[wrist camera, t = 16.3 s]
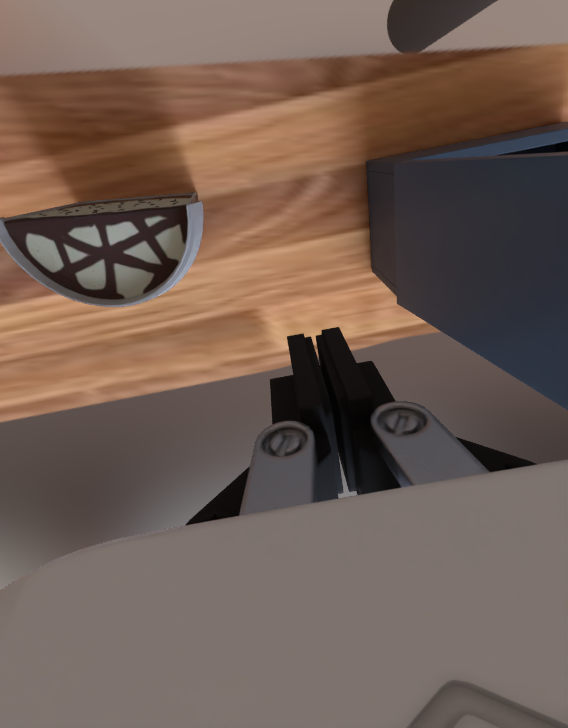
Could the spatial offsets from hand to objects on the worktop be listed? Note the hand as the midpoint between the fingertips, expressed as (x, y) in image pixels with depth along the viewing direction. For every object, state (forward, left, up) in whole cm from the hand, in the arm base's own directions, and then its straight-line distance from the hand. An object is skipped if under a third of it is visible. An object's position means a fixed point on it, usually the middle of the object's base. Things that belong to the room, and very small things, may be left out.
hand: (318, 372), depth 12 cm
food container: (-3, -11, -23) cm, 26 cm away
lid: (+1, +9, -7) cm, 12 cm away
